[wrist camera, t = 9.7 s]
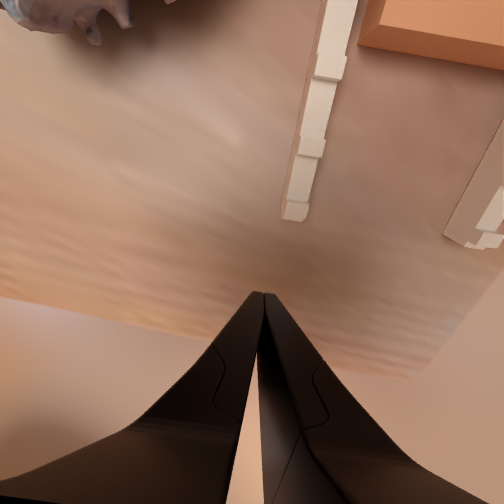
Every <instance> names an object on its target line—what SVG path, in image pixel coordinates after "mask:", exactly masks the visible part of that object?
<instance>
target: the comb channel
mask: <svg viewBox="0 0 504 504" xmlns="http://www.w3.org/2000/svg"><path fill="white" fill-rule="evenodd" d="M357 3H358V0H322V4H321V9H320V14H319V19H318V24H317V29H316V34H315V39H314V44H313V49H312V54H311V59H310V64H309V69H308V74H307V79H306V84H305V89H304V94H303V99H302V103H301V108H300V113H299V118H298V123H297V128H296V133H295V138H294V143H293V148H292V153H291V158H290V163H289V168H288V173H287V178H286V183H285V188H284V193H283V198H282V203H281V208H280V210H281V216H282V219H284V220H291V221H298V222H303V219H306V217H307V213H308V209H309V204H308V199H309V195H310V191H311V187H312V183H313V179H314V175H315V171H316V167H317V163H318V159H319V158H322V154H323V150H324V146H325V143H326V140H323V139H324V135H325V131H326V127H327V123H328V119H329V115H330V111H331V107H332V103H333V99H334V95H335V91H336V87H337V83H338V81H340V80H341V79H342V76H343V72H344V68H345V64H346V60H347V56H344V55H345V51H346V47H347V43H348V39H349V35H350V31H351V27H352V23H353V19H354V15H355V11H356V7H357ZM503 219H504V119H503V121H502V123H501V125H500V127H499V129H498V130H497V132H496V134H495V136H494V138H493V140H492V142H491V143H490V145H489V147H488V149H487V151H486V153H485V155H484V156H483V158H482V160H481V162H480V164H479V166H478V168H477V170H476V171H475V173H474V175H473V177H472V179H471V181H470V183H469V184H468V186H467V188H466V190H465V192H464V194H463V196H462V197H461V199H460V201H459V203H458V205H457V207H456V209H455V211H454V212H453V214H452V216H451V218H450V220H449V222H448V224H447V225H446V227H445V229H444V231H443V233H442V234H443V235H445V236H446V237H448V238H450V239H451V240H453V241H455V242H456V243H458V244H460V245H462V246H463V247H468V248H474V249H481V250H484V249H485V247H489V248H496V249H497V248H498V246H499V245H500V243H501V242H502V240H503V239H504V235H503V234H501V233H499V232H497V231H496V230H497V228H498V227H499V225H500V224H501V222H502V221H503Z"/></svg>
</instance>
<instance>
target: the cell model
mask: <svg viewBox="0 0 504 504" xmlns="http://www.w3.org/2000/svg"><path fill="white" fill-rule="evenodd" d="M164 1H165V3H167V4H169V3H172V2H174V1H176V0H164ZM102 8H103V9H106V10H107V11H108V12H109V13H110V14H111V15H112V16H113V18H114V19H115V20H116V22H117V23H118V25H119V26H120V27H121V29H122V30H123V29H127V28H130V27H133V24H134V21H133V15H132V12H131V9H130V6H129V0H0V9H4V10H6V11H7V12H8V14H9V15H10V17H11V18H12V19H13V20H14V21H15V22H16V23H18V24H19V25H21V26H23V27H25V28H27V29H28V30H30V31H41V32H46V33H52V34H56V33H67V32H68V31H69V30H70V29H72V26H73V23H74V22H75V23H76V24H77V25H78V26H79V27H80V29H81V30H82V31H83V33H84V35H85V36H86V38H87V40H88V41H89V43H90V44H92V45H95V46H99V45H101V44H102V37H101V34H100V30H99V27H98V13H99V12H100V10H101V9H102Z"/></svg>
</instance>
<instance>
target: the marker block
mask: <svg viewBox="0 0 504 504" xmlns="http://www.w3.org/2000/svg"><path fill="white" fill-rule="evenodd" d="M357 45H361V46H367V47H373V48H379V49H384V50H390V51H396V52H402V53H407V54H413V55H419V56H425V57H430V58H436V59H442V60H448V61H453V62H459V63H465V64H471V65H477V66H482V67H488V68H494V69H500V70H504V0H369V1H368V5H367V9H366V13H365V16H364V20H363V24H362V27H361V31H360V35H359V39H358V42H357Z"/></svg>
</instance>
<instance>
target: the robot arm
mask: <svg viewBox="0 0 504 504" xmlns="http://www.w3.org/2000/svg"><path fill="white" fill-rule="evenodd" d="M256 353H257V371H258V389H259V390H258V391H259V411H260V431H261V451H262V471H263V491H264V504H488V503H487V502H485V501H483V500H481V499H479V498H477V497H475V496H474V495H472V494H470V493H468V492H466V491H464V490H463V489H461V488H459V487H457V486H455V485H454V484H452V483H450V482H448V481H446V480H444V479H442V478H441V477H439V476H437V475H435V474H433V473H432V472H430V471H428V470H426V469H425V468H423V467H422V466H420V465H419V464H417V463H416V462H415V461H413V460H412V459H411V458H410V457H409V456H408V455H407V454H406V453H404V452H403V451H402V450H401V449H400V448H399V447H398V446H397V445H396V443H394V442H393V440H392V439H391V438H390V437H389V436H388V435H387V434H386V432H385V431H384V430H383V429H382V428H381V427H380V426H379V425H378V424H377V422H376V421H375V420H374V419H373V418H372V417H371V416H370V415H369V413H368V412H367V411H366V410H365V409H364V408H363V407H362V406H361V405H360V403H358V401H357V400H356V399H355V398H354V397H353V395H352V394H351V393H350V392H349V391H348V390H347V389H346V387H345V386H344V385H343V384H342V383H341V381H340V380H339V379H338V377H337V376H336V375H335V374H334V373H333V371H332V370H331V368H330V367H329V366H328V364H327V363H326V362H325V361H324V360H323V358H322V357H321V355H320V354H319V353H318V351H317V350H316V349H315V347H314V346H313V344H312V343H311V342H310V340H309V339H308V338H307V336H306V335H305V334H304V332H303V331H302V330H301V328H300V327H299V326H298V324H297V323H296V322H295V320H294V319H293V318H292V316H291V315H290V314H289V312H288V311H287V310H286V308H285V307H284V306H283V304H282V303H281V302H280V300H279V299H278V297H277V296H276V295H275V294H272V293H264V294H263V293H262V292H257V291H252V292H251V294H250V295H249V296H248V297H247V299H246V300H245V301H244V302H243V304H242V305H241V306H240V307H239V309H238V310H237V311H236V313H235V314H234V315H233V316H232V318H231V319H230V320H229V321H228V323H227V324H226V325H225V327H224V328H223V329H222V330H221V332H220V333H219V334H218V335H217V337H216V338H215V339H214V340H213V342H212V343H211V345H210V346H209V347H208V348H207V349H206V350H205V352H204V353H203V354H202V355H201V357H200V358H199V359H198V360H197V361H196V362H195V364H194V365H193V366H192V367H191V368H190V369H189V370H188V371H187V372H186V373H185V374H184V375H183V376H182V377H181V378H180V379H179V380H178V381H177V382H176V383H175V384H174V385H173V386H172V387H171V388H170V389H169V390H168V391H167V392H166V393H165V394H163V395H162V396H161V397H160V398H159V399H158V400H157V401H156V402H155V403H154V404H153V405H152V406H151V407H150V408H149V409H148V410H147V411H146V412H145V413H144V414H143V415H142V416H140V417H139V418H138V419H137V420H136V421H134V422H133V423H131V424H130V425H129V426H127V427H126V428H124V429H122V430H121V431H119V432H117V433H115V434H112V435H110V436H108V437H106V438H103V439H101V440H99V441H97V442H95V443H92V444H90V445H88V446H85V447H83V448H81V449H79V450H77V451H75V452H72V453H70V454H68V455H65V456H63V457H61V458H59V459H56V460H54V461H52V462H50V463H47V464H45V465H43V466H41V467H39V468H36V469H34V470H32V471H29V472H26V473H24V474H21V475H19V476H16V477H12V478H9V479H5V480H1V481H0V504H226V500H227V495H228V490H229V485H230V480H231V475H232V470H233V465H234V460H235V456H236V451H237V446H238V441H239V436H240V431H241V426H242V421H243V416H244V412H245V407H246V402H247V397H248V392H249V387H250V383H251V378H252V372H253V368H254V363H255V358H256Z"/></svg>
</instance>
